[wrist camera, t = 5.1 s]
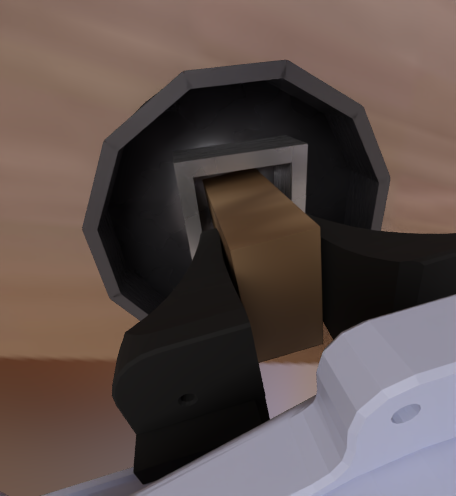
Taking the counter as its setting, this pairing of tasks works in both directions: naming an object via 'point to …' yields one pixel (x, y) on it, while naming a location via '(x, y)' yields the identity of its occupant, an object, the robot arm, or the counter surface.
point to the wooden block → (269, 260)
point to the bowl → (224, 168)
